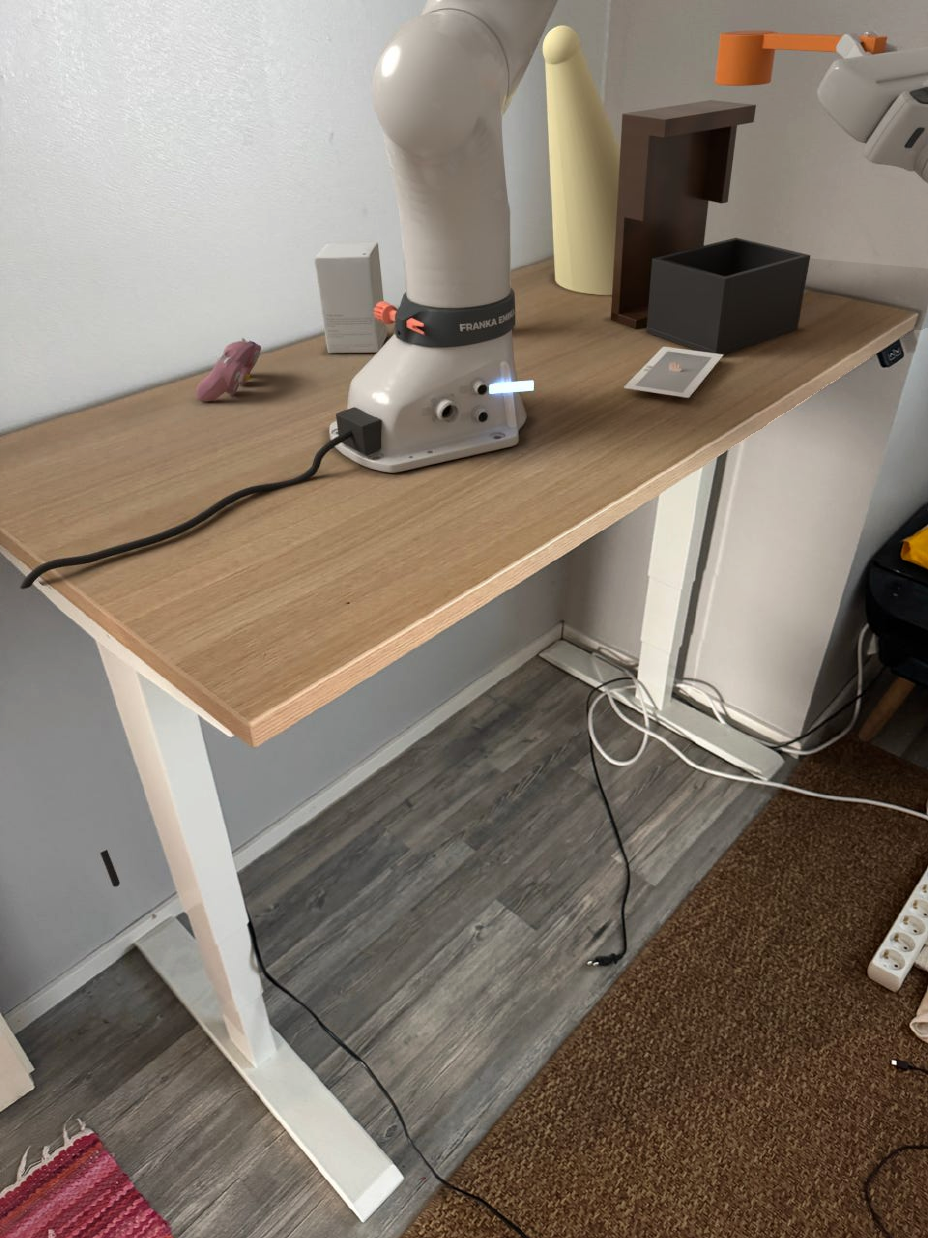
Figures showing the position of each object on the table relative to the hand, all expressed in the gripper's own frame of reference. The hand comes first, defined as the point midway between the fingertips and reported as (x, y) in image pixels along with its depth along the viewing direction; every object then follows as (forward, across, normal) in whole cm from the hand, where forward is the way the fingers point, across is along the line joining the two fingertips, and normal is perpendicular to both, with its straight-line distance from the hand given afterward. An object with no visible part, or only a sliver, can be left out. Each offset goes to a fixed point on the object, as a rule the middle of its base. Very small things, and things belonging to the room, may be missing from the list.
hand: (853, 38), depth 96 cm
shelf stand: (+2, 0, +41) cm, 41 cm away
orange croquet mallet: (+4, 0, +8) cm, 8 cm away
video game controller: (+15, +61, +48) cm, 79 cm away
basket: (-6, 0, +36) cm, 36 cm away
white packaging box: (+19, +41, +50) cm, 68 cm away
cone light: (+19, -3, +50) cm, 54 cm away
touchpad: (-13, +18, +32) cm, 39 cm away
